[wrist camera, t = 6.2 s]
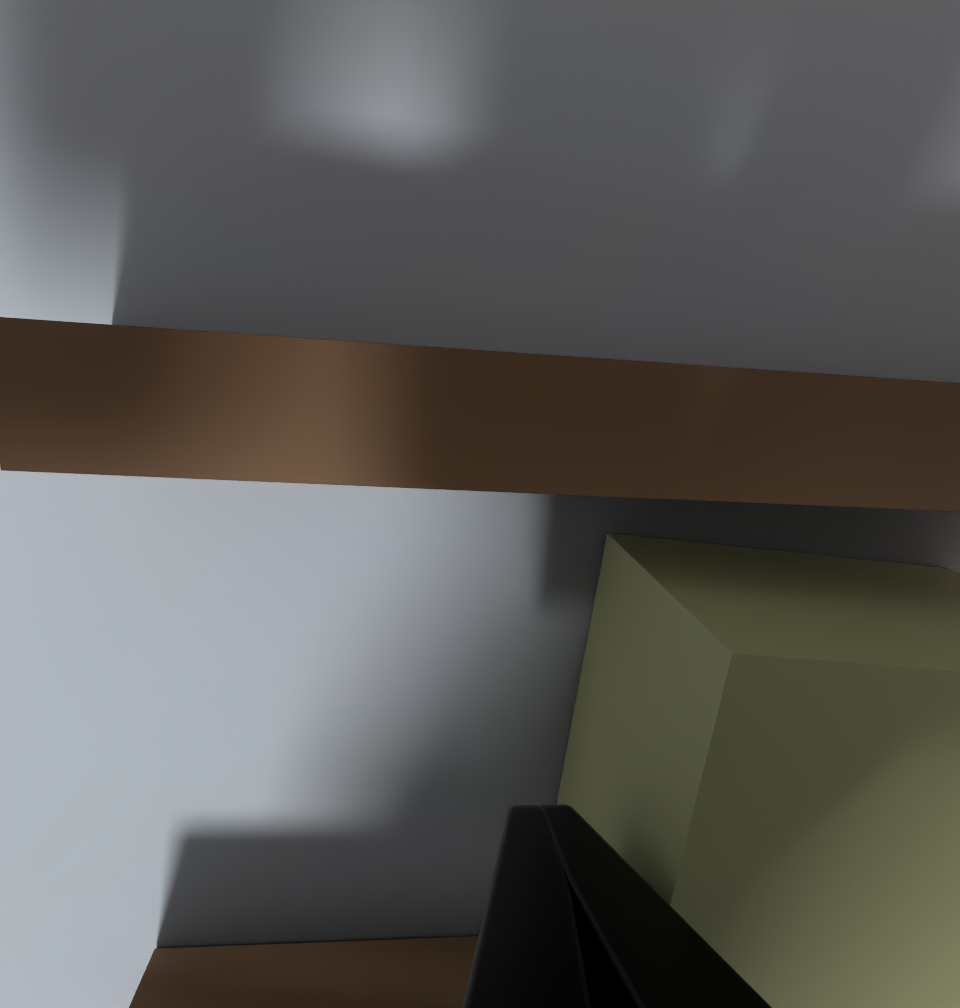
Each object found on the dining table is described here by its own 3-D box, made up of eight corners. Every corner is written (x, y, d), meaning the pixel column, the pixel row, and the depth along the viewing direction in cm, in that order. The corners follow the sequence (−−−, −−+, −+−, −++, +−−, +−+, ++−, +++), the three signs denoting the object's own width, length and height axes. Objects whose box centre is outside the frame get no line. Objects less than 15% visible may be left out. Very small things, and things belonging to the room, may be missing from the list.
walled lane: (1260, 969, 14) (1440, 1100, 11) (160, 1025, 11) (89, 1211, 9) (1519, 408, 11) (1835, 424, 8) (108, 306, 8) (-22, 287, 6)
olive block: (850, 860, 12) (1060, 1108, 8) (547, 850, 11) (617, 1117, 7) (945, 567, 10) (1253, 694, 7) (607, 533, 10) (731, 653, 6)
